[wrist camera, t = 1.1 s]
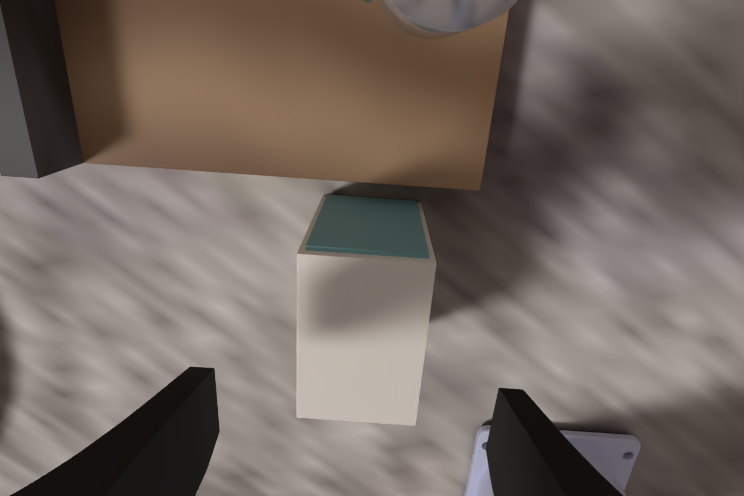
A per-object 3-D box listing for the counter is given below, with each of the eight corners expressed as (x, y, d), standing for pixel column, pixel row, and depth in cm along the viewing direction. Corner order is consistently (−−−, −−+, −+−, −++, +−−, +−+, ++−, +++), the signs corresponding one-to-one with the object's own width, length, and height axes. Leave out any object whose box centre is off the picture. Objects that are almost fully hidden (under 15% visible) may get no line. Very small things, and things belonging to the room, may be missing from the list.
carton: (406, 328, 21) (415, 425, 15) (319, 322, 21) (296, 417, 15) (421, 199, 19) (437, 258, 13) (323, 192, 19) (296, 249, 13)
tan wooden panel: (474, 182, 18) (494, 210, 15) (67, 153, 18) (-4, 175, 15) (522, -130, 14) (564, -187, 11) (6, -167, 14) (-109, -235, 11)
